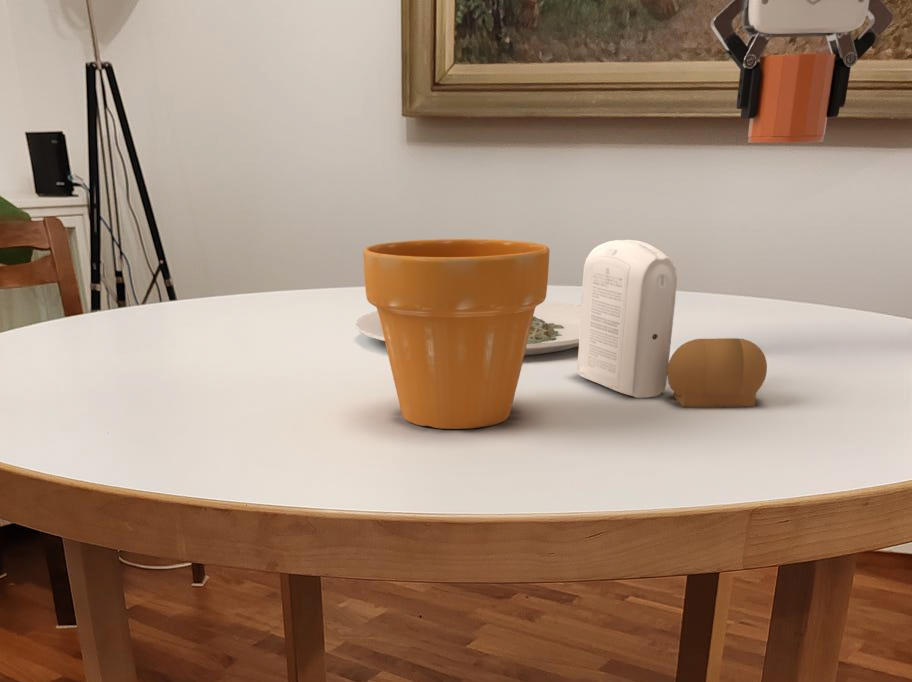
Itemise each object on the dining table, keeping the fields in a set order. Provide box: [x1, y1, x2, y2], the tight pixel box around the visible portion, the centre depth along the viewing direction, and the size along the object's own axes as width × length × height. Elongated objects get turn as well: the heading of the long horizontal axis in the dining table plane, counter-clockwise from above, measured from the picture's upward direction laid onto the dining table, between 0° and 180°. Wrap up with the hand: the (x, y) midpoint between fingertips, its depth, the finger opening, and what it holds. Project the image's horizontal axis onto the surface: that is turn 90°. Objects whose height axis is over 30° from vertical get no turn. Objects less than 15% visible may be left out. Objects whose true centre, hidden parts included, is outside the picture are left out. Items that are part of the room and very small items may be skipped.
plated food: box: [355, 300, 581, 356], centre depth 111 cm, size 30×30×3 cm
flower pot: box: [362, 238, 551, 430], centre depth 78 cm, size 14×14×13 cm
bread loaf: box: [667, 337, 768, 408], centre depth 83 cm, size 8×5×5 cm, turn 89°
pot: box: [747, 53, 837, 144], centre depth 91 cm, size 7×7×7 cm
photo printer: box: [577, 239, 678, 399], centre depth 87 cm, size 10×4×12 cm, turn 23°
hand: (788, 116), depth 92 cm, fingers closed on pot, 6 cm apart
